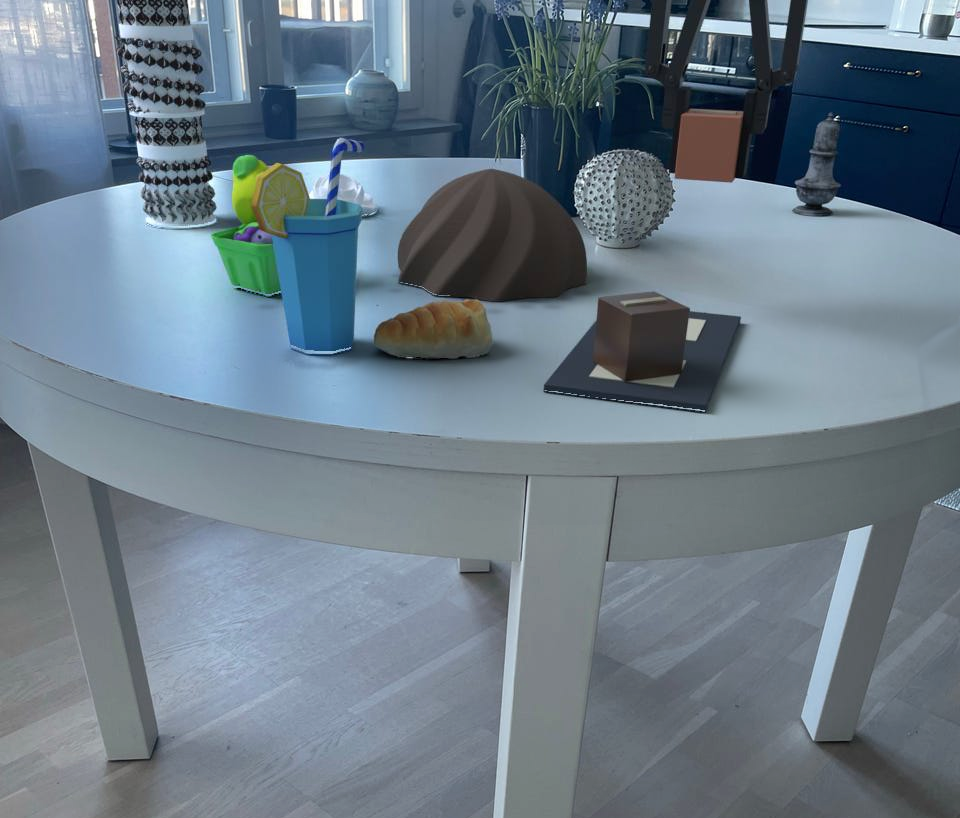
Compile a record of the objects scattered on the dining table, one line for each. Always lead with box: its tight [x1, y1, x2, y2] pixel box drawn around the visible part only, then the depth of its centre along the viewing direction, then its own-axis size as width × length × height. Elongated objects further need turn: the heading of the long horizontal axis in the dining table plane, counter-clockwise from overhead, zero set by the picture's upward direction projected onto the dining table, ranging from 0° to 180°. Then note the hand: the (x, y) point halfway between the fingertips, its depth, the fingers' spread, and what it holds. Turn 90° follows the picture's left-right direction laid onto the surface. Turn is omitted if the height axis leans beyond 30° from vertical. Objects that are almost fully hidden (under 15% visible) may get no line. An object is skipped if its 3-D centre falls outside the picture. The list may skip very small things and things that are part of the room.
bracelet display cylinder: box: [114, 0, 218, 230], centre depth 116 cm, size 9×9×25 cm
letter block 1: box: [593, 291, 691, 381], centre depth 77 cm, size 5×5×5 cm
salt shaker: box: [791, 111, 841, 217], centre depth 133 cm, size 6×6×12 cm
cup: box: [251, 137, 365, 356], centre depth 80 cm, size 14×8×15 cm, turn 158°
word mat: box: [543, 310, 742, 414], centre depth 83 cm, size 24×12×1 cm, turn 162°
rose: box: [308, 173, 379, 218], centre depth 129 cm, size 10×4×10 cm
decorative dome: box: [397, 168, 588, 303], centre depth 101 cm, size 19×20×10 cm
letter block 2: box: [674, 108, 743, 184], centre depth 88 cm, size 5×5×5 cm
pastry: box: [373, 298, 494, 360], centre depth 82 cm, size 9×7×4 cm
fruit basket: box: [210, 154, 282, 298], centre depth 97 cm, size 11×9×11 cm
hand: (707, 172), depth 89 cm, fingers closed on letter block 2, 5 cm apart
